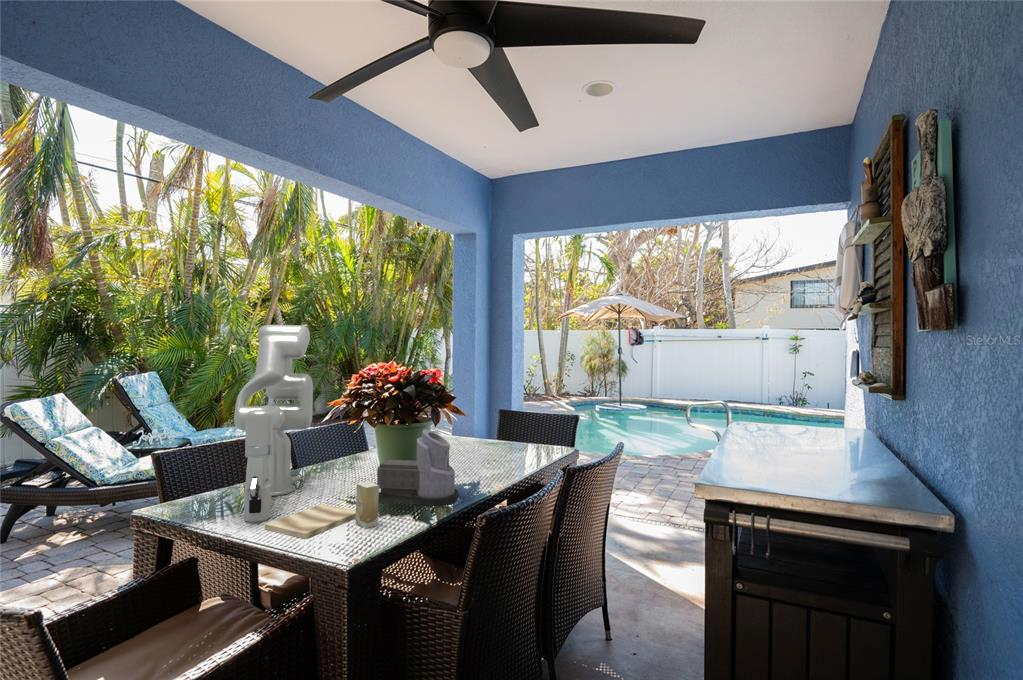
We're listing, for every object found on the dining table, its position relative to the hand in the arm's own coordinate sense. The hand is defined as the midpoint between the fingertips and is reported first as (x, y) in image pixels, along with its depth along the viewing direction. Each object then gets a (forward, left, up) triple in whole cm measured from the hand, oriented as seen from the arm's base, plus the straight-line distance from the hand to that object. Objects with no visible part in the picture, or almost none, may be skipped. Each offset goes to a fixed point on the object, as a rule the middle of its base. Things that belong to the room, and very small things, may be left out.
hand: (257, 508), depth 165 cm
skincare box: (-12, +32, -4) cm, 34 cm away
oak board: (-6, +17, -3) cm, 18 cm away
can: (0, 0, -4) cm, 4 cm away
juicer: (-41, +31, -4) cm, 51 cm away
